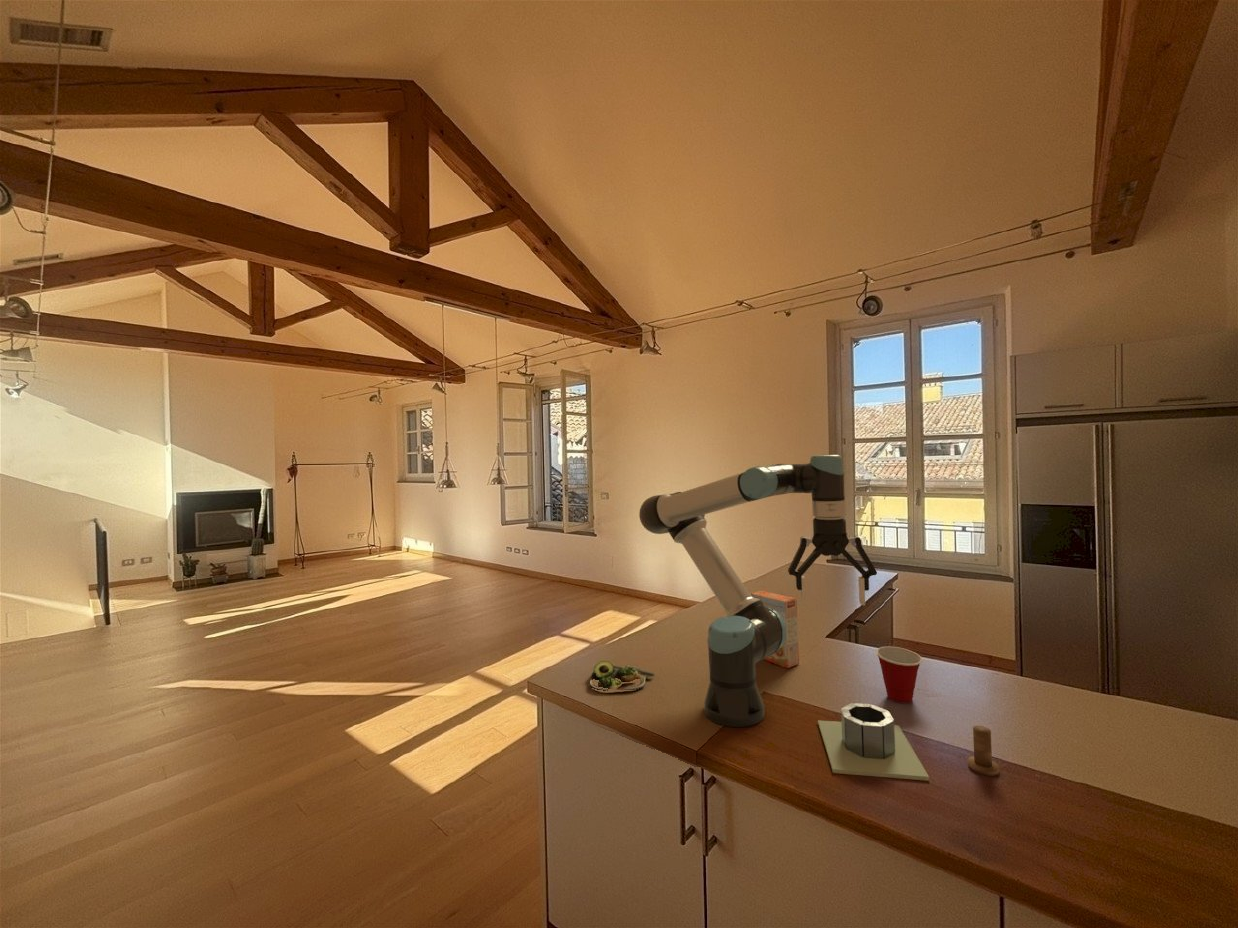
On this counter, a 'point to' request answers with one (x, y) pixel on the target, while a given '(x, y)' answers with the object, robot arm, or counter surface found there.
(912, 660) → the plastic cup
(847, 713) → the grey hollow octagonal ring
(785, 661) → the cracker box
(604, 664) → the salad plate
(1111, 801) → the counter surface
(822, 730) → the sage mat
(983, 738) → the tan peg with base
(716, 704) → the robot arm
